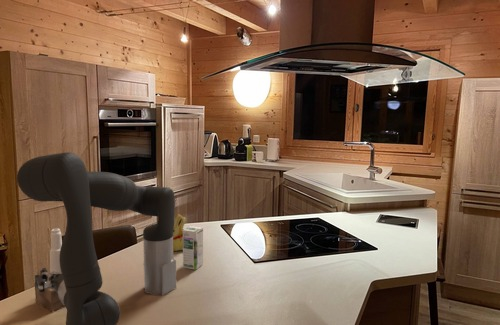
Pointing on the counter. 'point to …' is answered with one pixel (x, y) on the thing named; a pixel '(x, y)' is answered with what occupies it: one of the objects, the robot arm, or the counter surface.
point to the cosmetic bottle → (55, 251)
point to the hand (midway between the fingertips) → (60, 267)
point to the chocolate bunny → (178, 233)
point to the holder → (48, 299)
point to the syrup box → (192, 247)
